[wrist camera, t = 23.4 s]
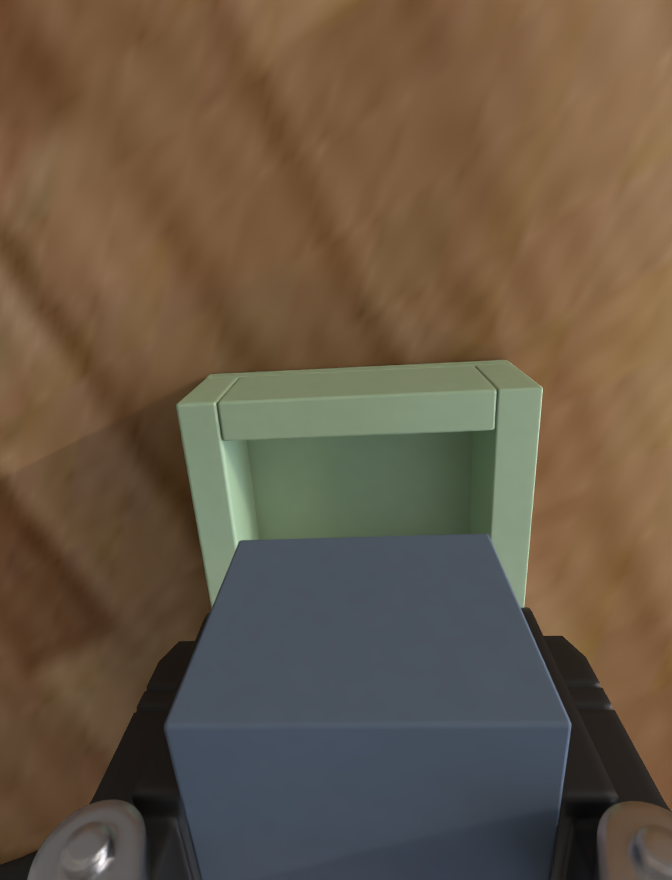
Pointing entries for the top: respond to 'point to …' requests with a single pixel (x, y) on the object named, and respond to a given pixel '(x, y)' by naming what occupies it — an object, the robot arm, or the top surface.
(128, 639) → the top surface
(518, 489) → the frame
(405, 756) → the blue block
